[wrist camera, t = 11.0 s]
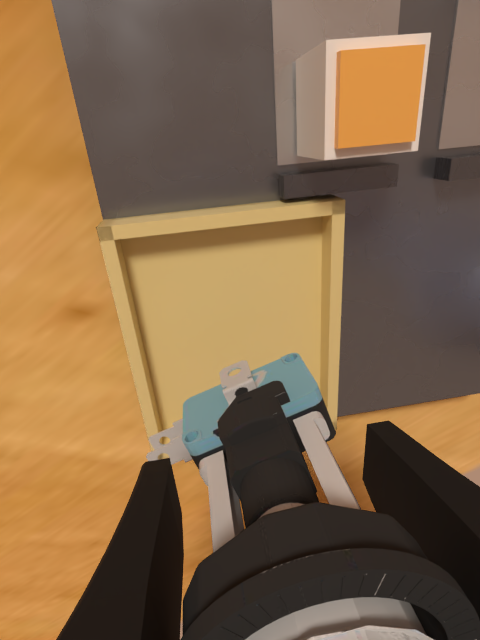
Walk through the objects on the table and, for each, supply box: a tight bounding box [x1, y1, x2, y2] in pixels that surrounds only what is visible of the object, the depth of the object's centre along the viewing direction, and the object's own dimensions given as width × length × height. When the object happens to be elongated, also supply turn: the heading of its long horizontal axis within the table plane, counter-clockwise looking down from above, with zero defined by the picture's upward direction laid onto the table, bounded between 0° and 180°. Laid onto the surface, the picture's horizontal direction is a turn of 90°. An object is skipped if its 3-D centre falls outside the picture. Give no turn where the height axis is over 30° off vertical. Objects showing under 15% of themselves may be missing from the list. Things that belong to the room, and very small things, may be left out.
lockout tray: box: [96, 195, 345, 459], centre depth 17 cm, size 9×11×1 cm
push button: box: [146, 353, 480, 640], centre depth 10 cm, size 7×5×10 cm
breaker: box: [296, 33, 431, 160], centre depth 12 cm, size 3×3×3 cm
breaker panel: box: [52, 0, 480, 417], centre depth 16 cm, size 18×22×3 cm
